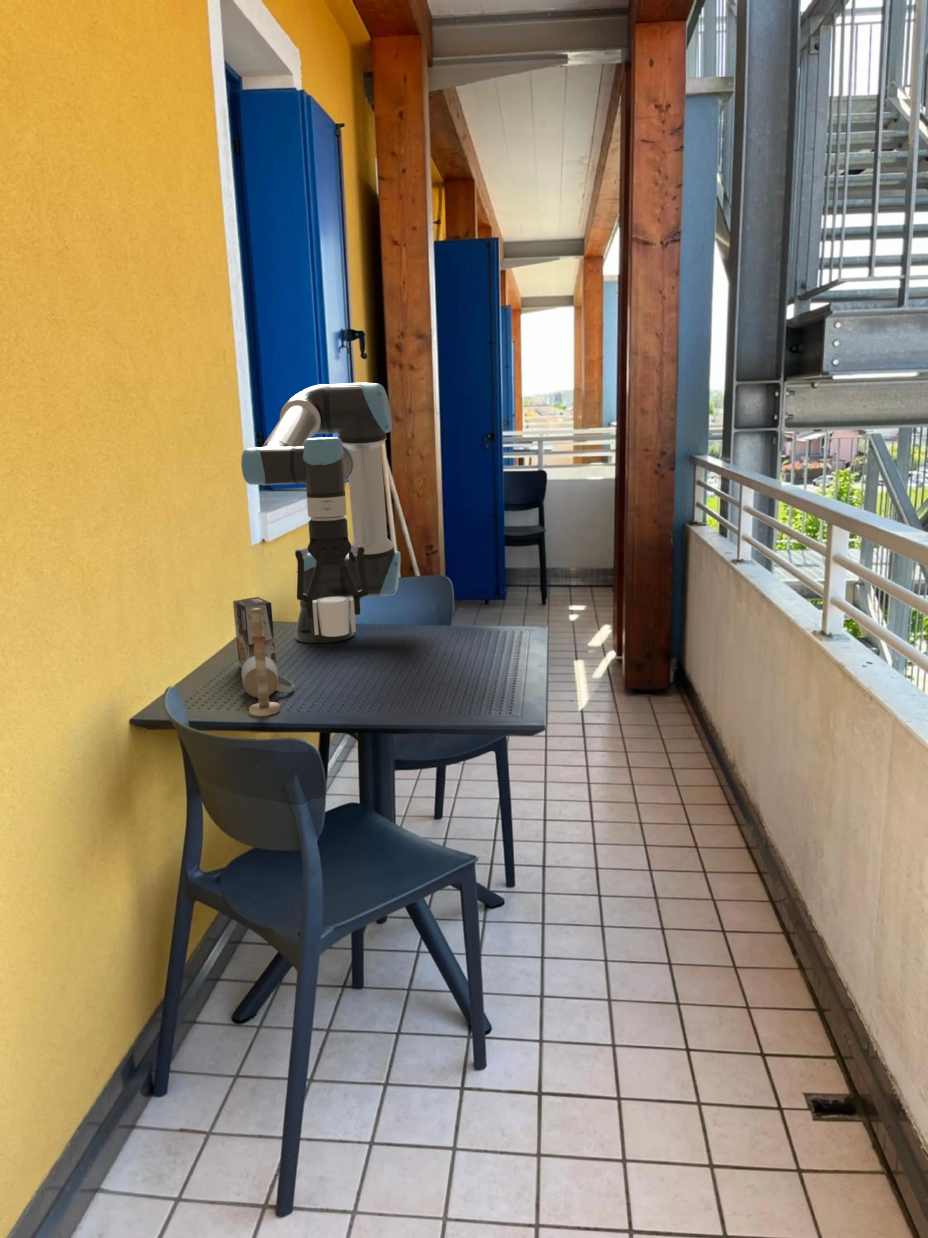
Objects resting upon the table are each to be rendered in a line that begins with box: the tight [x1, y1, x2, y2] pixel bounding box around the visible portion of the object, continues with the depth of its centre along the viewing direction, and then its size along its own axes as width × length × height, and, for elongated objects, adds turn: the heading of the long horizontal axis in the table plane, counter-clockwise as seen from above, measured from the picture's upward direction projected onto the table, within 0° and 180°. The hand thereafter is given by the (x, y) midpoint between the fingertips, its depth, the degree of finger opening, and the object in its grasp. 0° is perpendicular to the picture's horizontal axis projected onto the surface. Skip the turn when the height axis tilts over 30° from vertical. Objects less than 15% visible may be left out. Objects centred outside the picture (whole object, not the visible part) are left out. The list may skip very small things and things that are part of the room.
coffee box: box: [232, 596, 277, 669], centre depth 211 cm, size 9×6×16 cm
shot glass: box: [316, 596, 351, 637], centre depth 183 cm, size 7×7×7 cm
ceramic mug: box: [240, 656, 295, 699], centre depth 193 cm, size 11×8×8 cm
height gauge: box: [248, 608, 281, 717], centre depth 180 cm, size 6×6×21 cm
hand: (335, 631), depth 184 cm, fingers closed on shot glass, 7 cm apart
